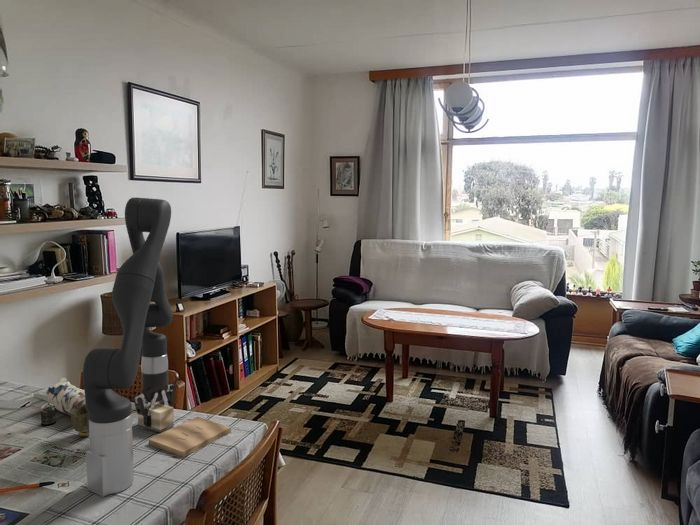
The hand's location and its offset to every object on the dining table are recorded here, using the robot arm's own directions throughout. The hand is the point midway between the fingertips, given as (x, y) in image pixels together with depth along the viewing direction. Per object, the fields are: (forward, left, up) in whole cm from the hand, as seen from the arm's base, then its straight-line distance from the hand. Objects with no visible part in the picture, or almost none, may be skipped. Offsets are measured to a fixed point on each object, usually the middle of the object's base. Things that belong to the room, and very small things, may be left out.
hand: (156, 422), depth 152 cm
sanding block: (0, 0, -1) cm, 1 cm away
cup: (-15, +12, -1) cm, 19 cm away
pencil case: (-8, +28, -1) cm, 29 cm away
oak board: (0, -15, -1) cm, 15 cm away
